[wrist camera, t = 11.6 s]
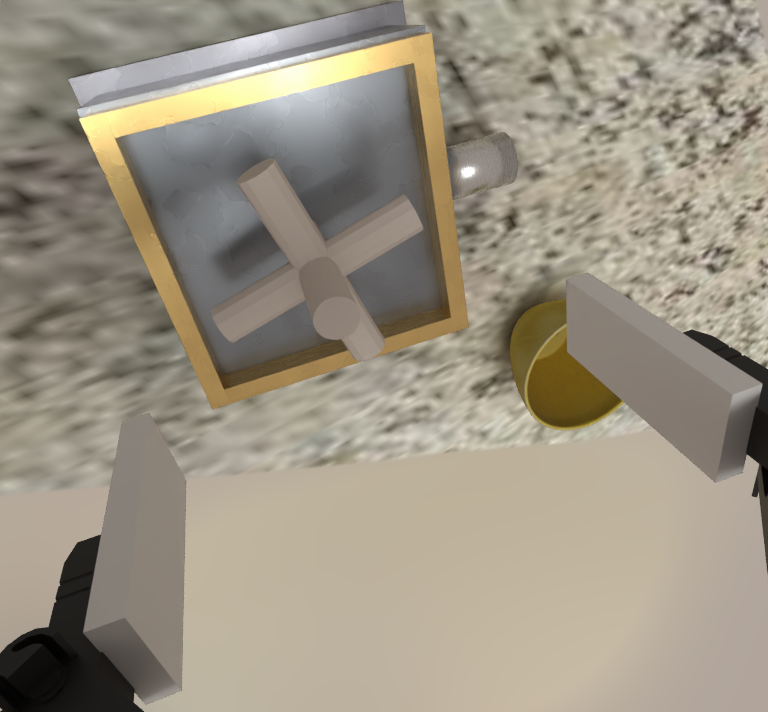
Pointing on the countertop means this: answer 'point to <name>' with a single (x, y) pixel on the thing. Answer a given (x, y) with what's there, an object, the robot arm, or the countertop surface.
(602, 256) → the countertop surface
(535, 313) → the flower pot
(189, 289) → the grey gold-rimmed box
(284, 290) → the pipe connector
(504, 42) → the countertop surface
